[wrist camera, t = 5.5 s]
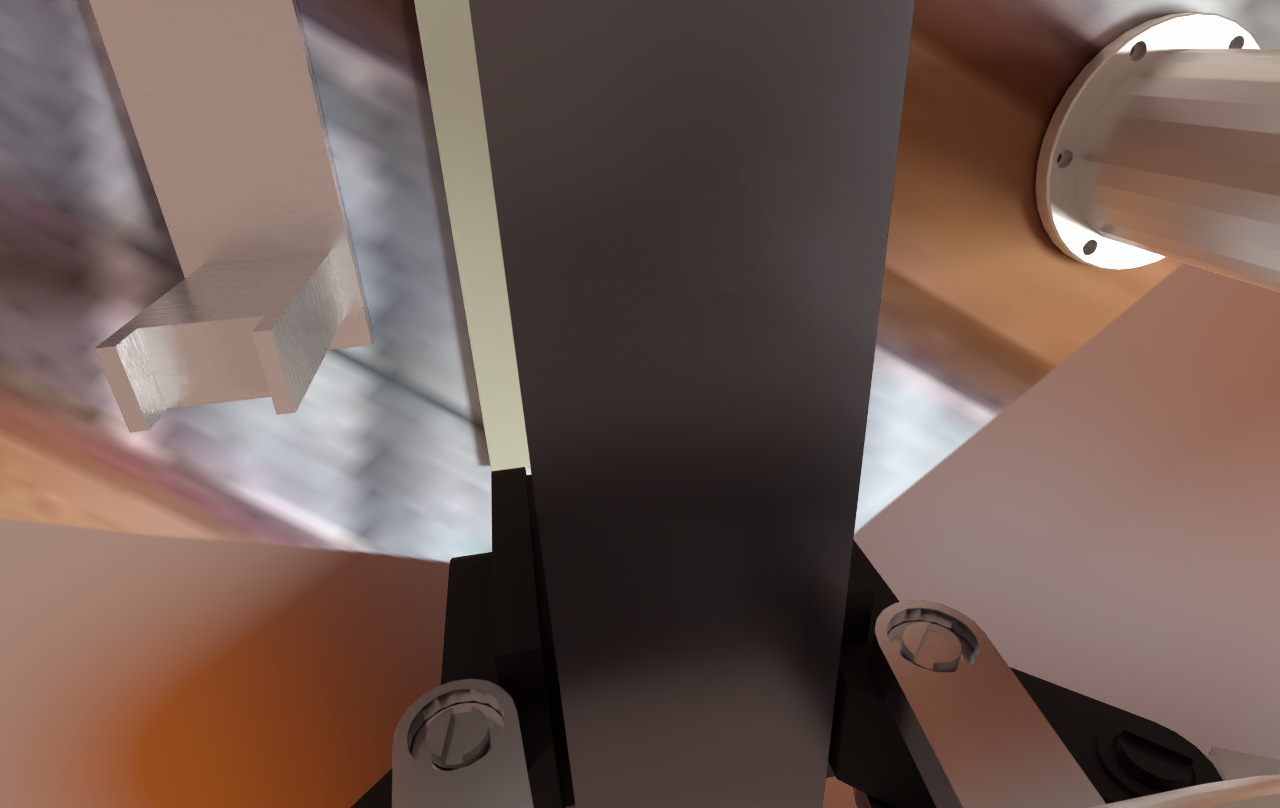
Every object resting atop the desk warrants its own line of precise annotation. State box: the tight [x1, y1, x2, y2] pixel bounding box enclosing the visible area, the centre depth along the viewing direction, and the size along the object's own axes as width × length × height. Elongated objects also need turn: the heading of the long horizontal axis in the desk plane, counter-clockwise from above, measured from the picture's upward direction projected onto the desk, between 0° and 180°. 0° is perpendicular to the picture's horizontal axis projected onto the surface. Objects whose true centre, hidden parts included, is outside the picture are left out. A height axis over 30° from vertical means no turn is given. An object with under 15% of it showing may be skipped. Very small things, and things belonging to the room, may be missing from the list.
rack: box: [89, 0, 374, 432], centre depth 24 cm, size 7×22×11 cm, turn 2°
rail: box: [469, 0, 915, 808], centre depth 9 cm, size 3×24×3 cm, turn 2°
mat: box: [414, 0, 531, 472], centre depth 33 cm, size 8×26×1 cm, turn 2°
